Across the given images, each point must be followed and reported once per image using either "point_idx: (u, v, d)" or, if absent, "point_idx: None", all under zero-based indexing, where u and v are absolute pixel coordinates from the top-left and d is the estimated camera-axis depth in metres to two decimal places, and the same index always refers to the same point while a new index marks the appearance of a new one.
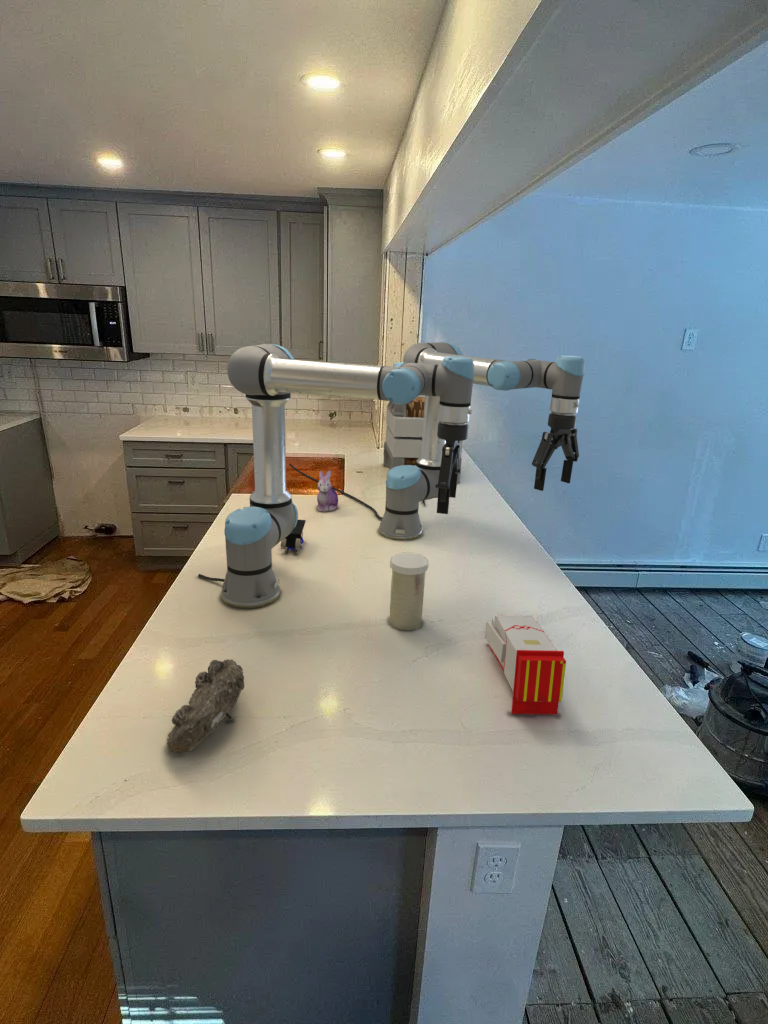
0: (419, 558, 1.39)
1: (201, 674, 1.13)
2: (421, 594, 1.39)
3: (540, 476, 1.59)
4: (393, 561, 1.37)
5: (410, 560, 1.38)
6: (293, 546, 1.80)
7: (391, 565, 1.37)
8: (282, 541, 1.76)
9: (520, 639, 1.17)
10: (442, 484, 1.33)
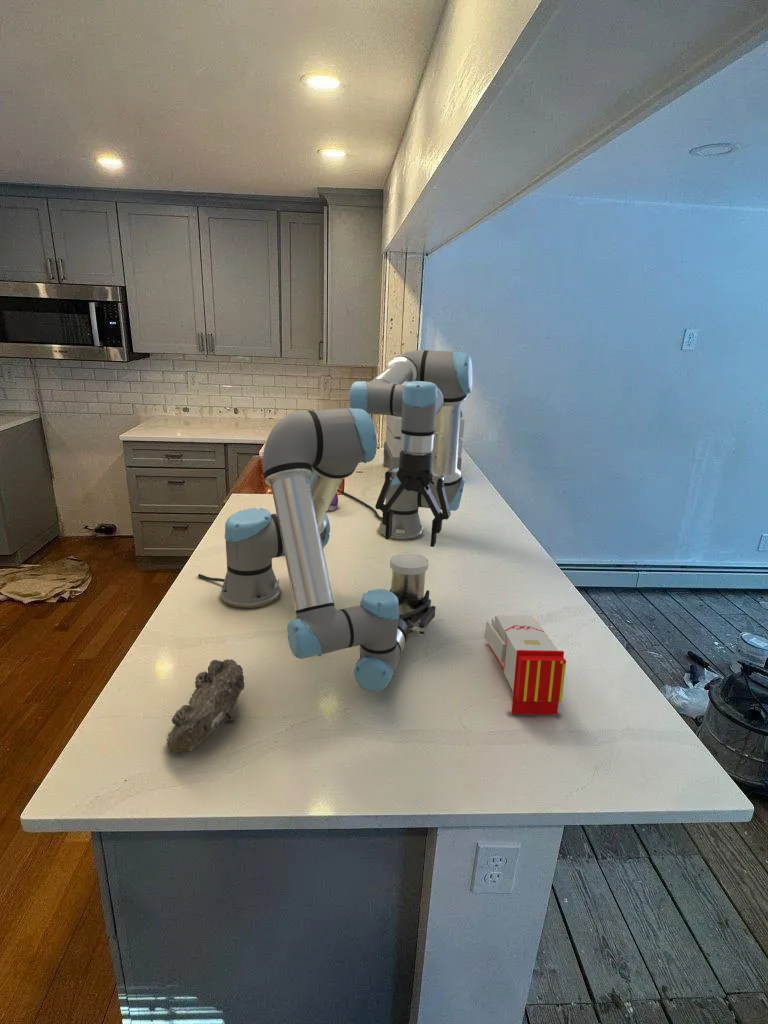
0: (419, 558, 1.39)
1: (201, 674, 1.13)
2: (421, 594, 1.39)
3: None
4: (393, 561, 1.37)
5: (410, 560, 1.38)
6: None
7: (391, 565, 1.37)
8: None
9: (520, 639, 1.17)
10: None
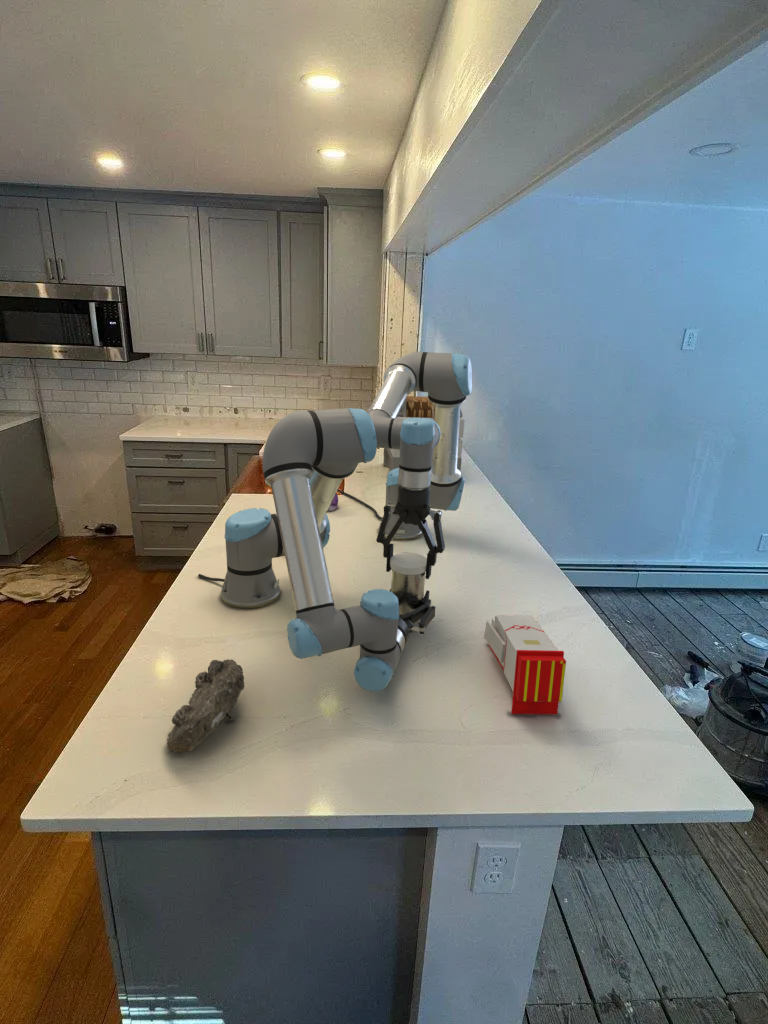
0: (419, 558, 1.39)
1: (201, 674, 1.13)
2: (421, 594, 1.39)
3: None
4: (393, 561, 1.37)
5: (410, 560, 1.38)
6: None
7: (391, 565, 1.37)
8: None
9: (520, 639, 1.17)
10: None
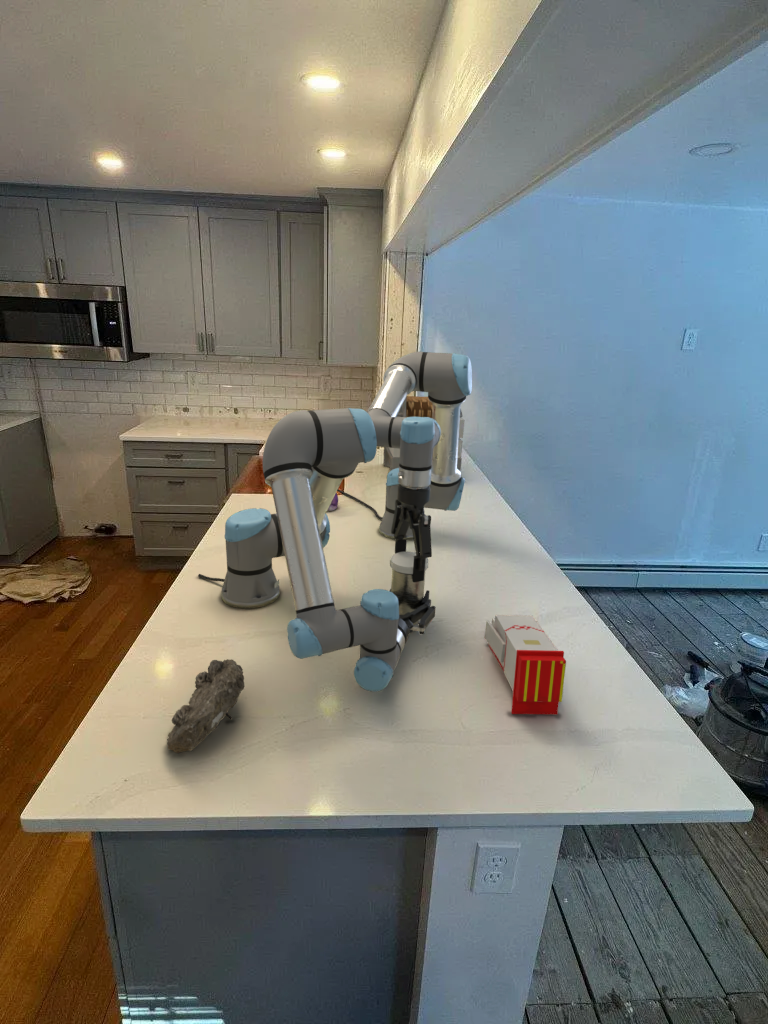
0: (398, 556, 1.39)
1: (201, 674, 1.13)
2: (421, 594, 1.39)
3: None
4: None
5: (409, 558, 1.38)
6: None
7: (426, 566, 1.36)
8: None
9: (520, 639, 1.17)
10: None
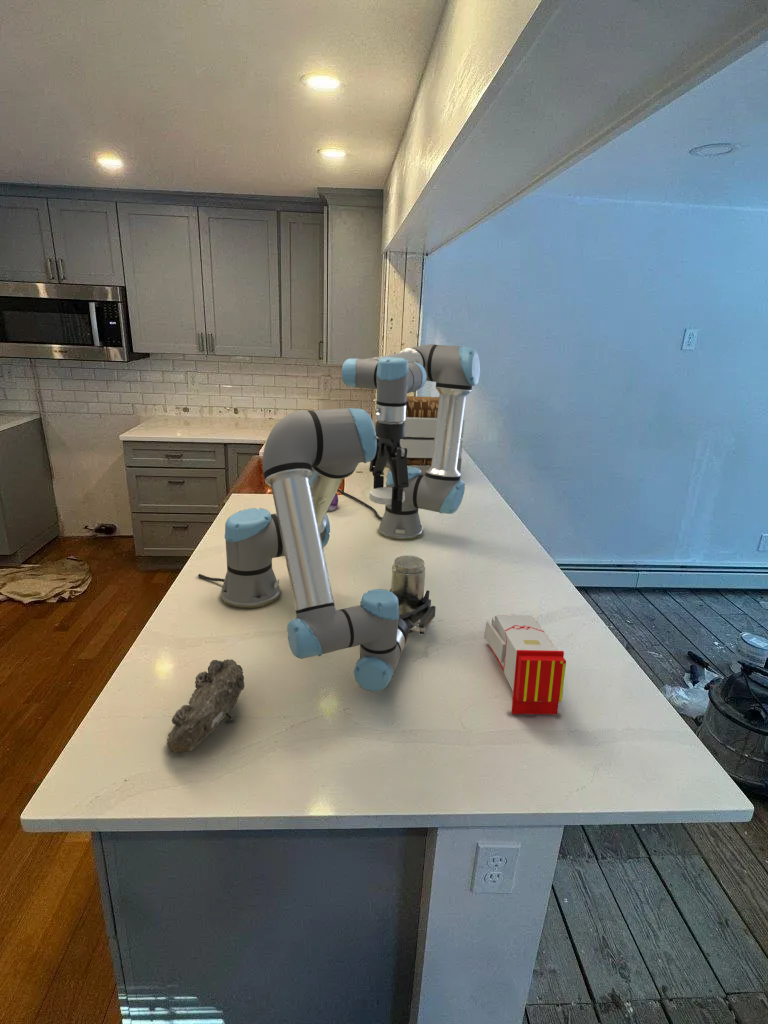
0: (377, 491, 1.50)
1: (201, 674, 1.13)
2: (421, 594, 1.39)
3: None
4: None
5: (387, 492, 1.49)
6: None
7: (403, 498, 1.48)
8: None
9: (520, 639, 1.17)
10: None
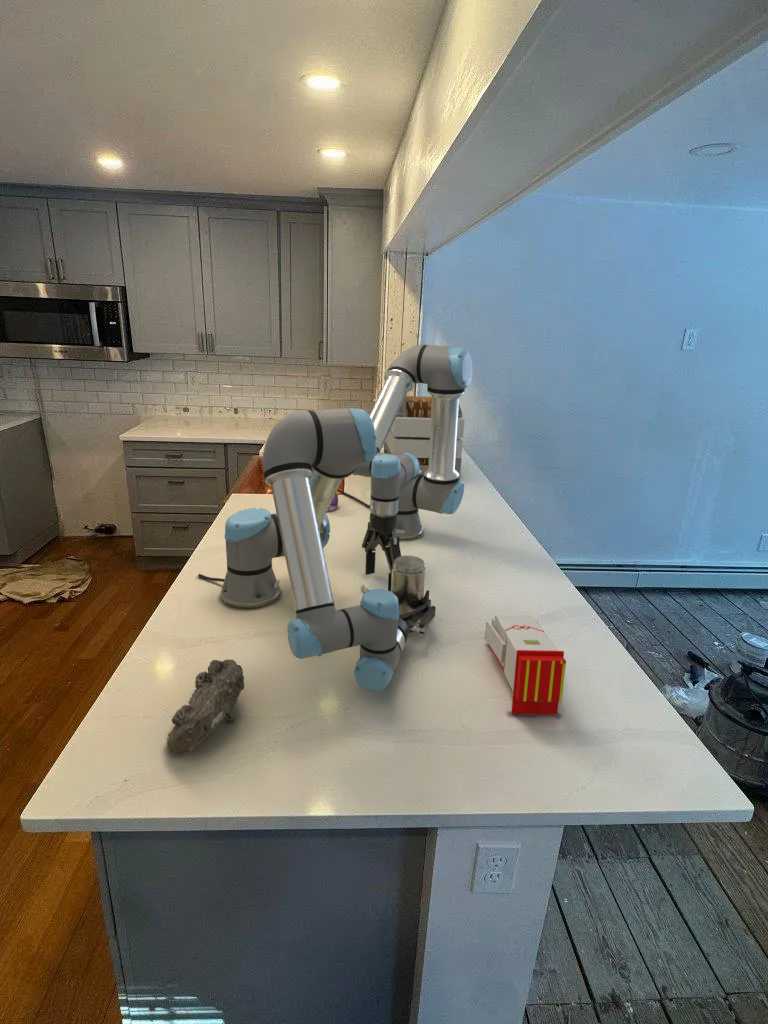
0: (370, 582, 1.60)
1: (201, 674, 1.13)
2: (421, 594, 1.39)
3: None
4: None
5: (380, 583, 1.60)
6: None
7: None
8: None
9: (520, 639, 1.17)
10: None
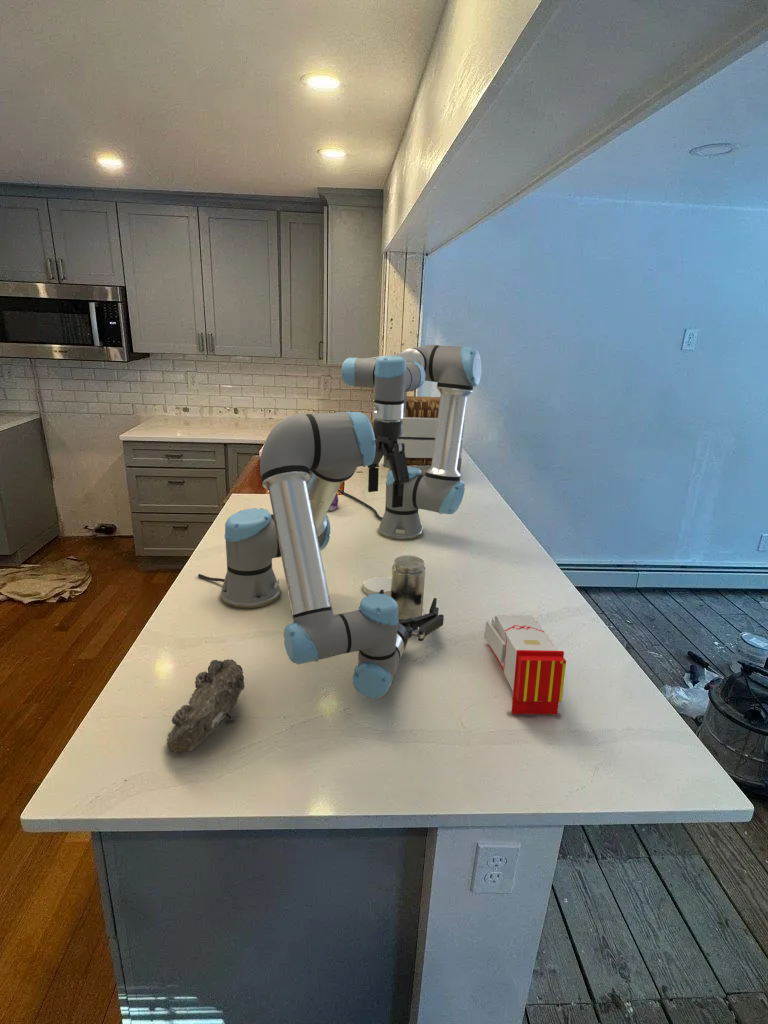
0: (370, 582, 1.60)
1: (201, 674, 1.13)
2: (421, 594, 1.39)
3: None
4: None
5: (380, 583, 1.60)
6: None
7: None
8: None
9: (520, 639, 1.17)
10: None
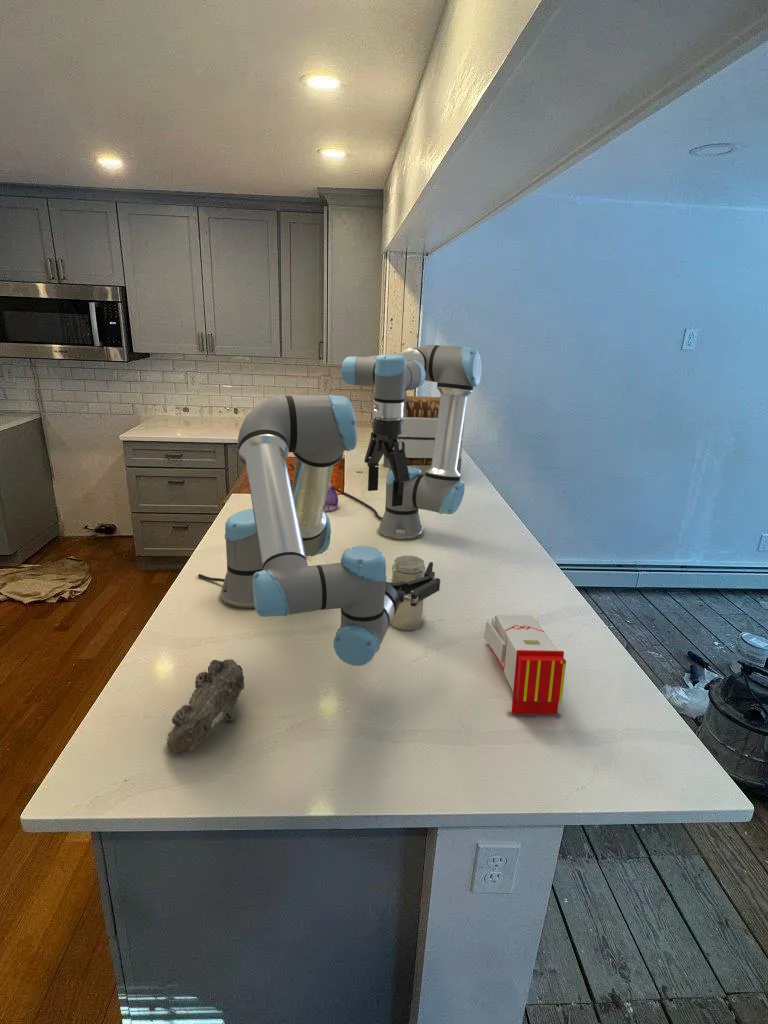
0: None
1: (201, 674, 1.13)
2: None
3: None
4: None
5: None
6: None
7: None
8: None
9: (520, 639, 1.17)
10: None
